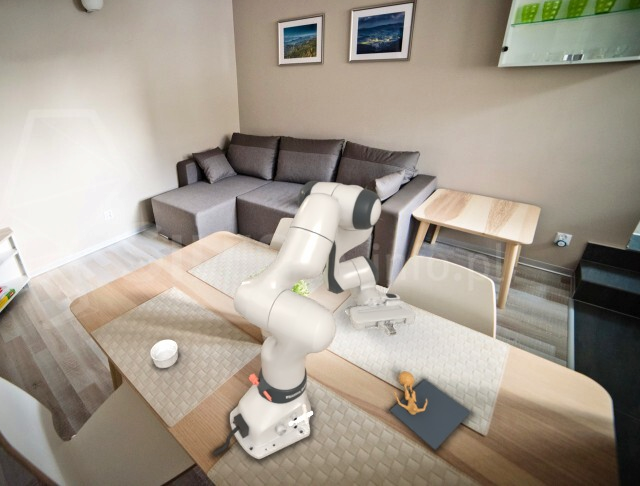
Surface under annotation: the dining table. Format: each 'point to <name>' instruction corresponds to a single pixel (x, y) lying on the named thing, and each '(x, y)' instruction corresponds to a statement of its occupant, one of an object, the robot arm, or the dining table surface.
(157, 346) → the ramekin
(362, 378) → the dining table surface
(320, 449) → the dining table surface
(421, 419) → the felt mat
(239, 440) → the robot arm
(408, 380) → the figurine
